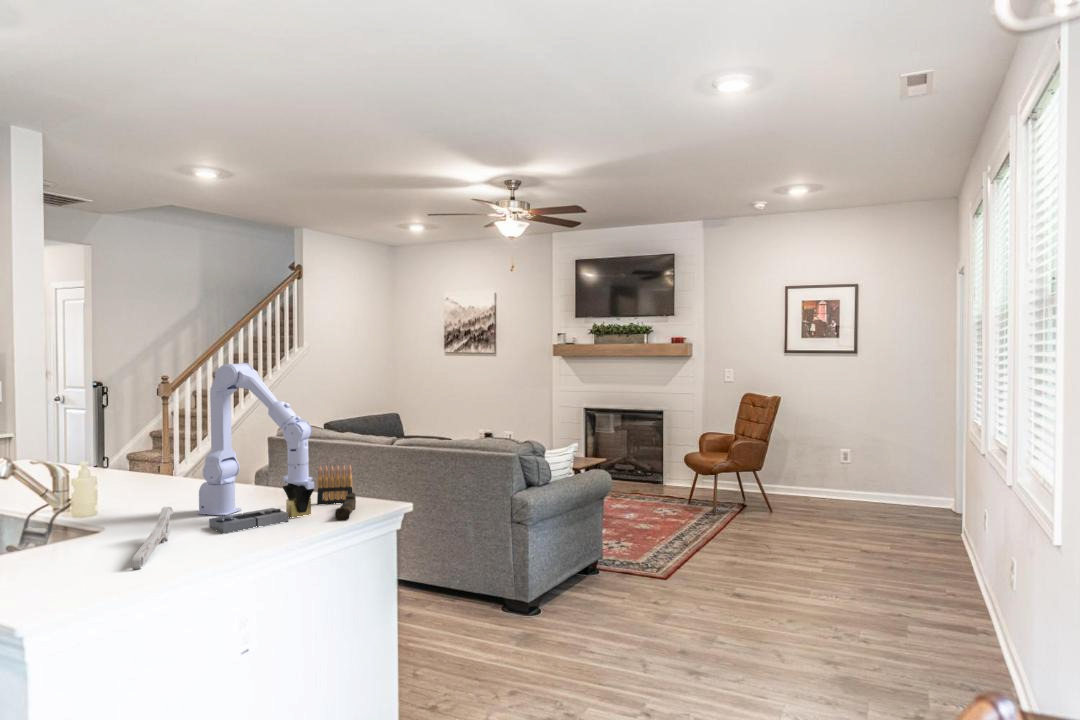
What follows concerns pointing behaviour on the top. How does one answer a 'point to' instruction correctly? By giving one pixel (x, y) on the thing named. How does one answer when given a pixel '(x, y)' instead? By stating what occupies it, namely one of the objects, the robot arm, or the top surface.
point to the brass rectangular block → (296, 508)
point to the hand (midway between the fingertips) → (298, 510)
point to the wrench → (153, 539)
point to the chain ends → (248, 520)
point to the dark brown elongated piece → (346, 508)
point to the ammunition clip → (334, 485)
